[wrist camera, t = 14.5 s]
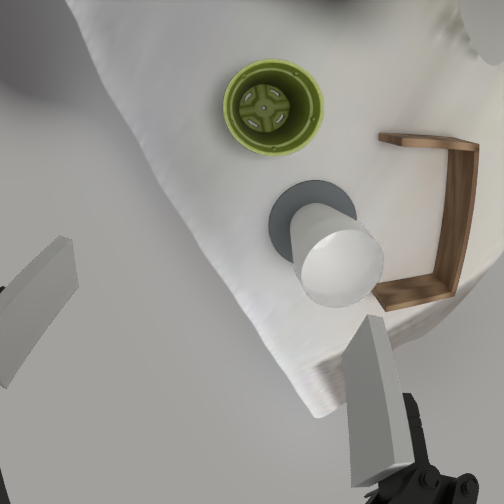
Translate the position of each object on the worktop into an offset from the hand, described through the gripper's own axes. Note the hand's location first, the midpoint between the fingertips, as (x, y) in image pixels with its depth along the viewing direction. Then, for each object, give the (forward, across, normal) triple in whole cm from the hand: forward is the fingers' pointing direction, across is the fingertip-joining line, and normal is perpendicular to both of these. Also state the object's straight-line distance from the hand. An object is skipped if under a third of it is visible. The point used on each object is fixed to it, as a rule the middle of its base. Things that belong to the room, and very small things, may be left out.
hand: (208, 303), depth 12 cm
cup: (+27, +9, -8) cm, 30 cm away
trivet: (+28, +9, -8) cm, 30 cm away
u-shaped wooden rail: (+31, +24, -3) cm, 39 cm away
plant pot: (+28, -1, +5) cm, 28 cm away
